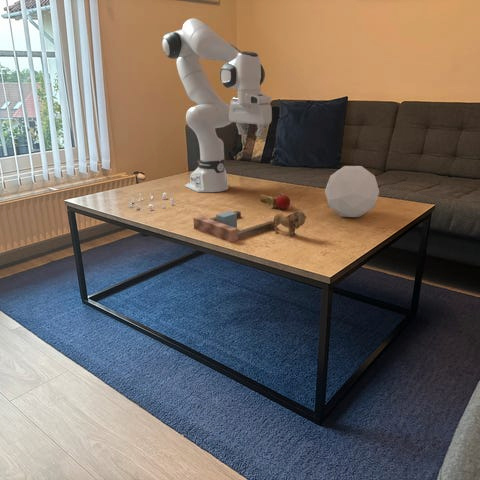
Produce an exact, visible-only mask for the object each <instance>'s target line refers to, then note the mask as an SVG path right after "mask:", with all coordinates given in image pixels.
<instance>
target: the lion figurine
mask: <svg viewBox="0 0 480 480" xmlns="http://www.w3.org/2000/svg"><path fill="white" fill-rule="evenodd" d="M305 214H306V213H304V211H303V210H297V211H295V212H293V213H290V214H288V215H285V214H283V213H280V212H277V213H276V214H275V215H274V217H273V220H272V221H273V224H272V225H271V226H270V227H269V228H268V229H269V230H271V229H270V228H272V226H273V225H274V222H275V228H274V233H275V234H277V235H278V234H279V233H280V232H279V231H278V230H279V228H278V226H279V225H281V226H283V227H284V228H287V229H288V236H289V238H292V239H293V238H294V236H297V233H296V232H295V231H296V230H298V229H300V227H302V226H303V225H305V222H306V220H307V215H305ZM272 229H273V228H272Z"/></svg>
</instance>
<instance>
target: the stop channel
mask: <svg viewBox="0 0 480 480" xmlns="http://www.w3.org/2000/svg"><path fill="white" fill-rule="evenodd" d="M233 212H234V213H237V219H238V218H241V216H242V211H240V210H235V211H233ZM272 224H273V220H269V221H266V222H263V223H260V224H257V225H254V226H249V227H247V228H244V229H241V230H239V231H238V227H237V228H235V227H232V226H229V225H226V224H223V223H220V222H217V221H216V216H214V217H210V218H207V217H206V216H201V215H198V216H194V217H193V229H194V230H197V231H200V232H203V233H206V234H208V235H211V236H214V237H216V238H219V239H222V240H225V241H227V242H229V243H232V242H236V241H239V240H242V239H244V238H247V237H250V236H253V235H254V236H255V235H256V234H260V233H262V232H263V233H264V232H266V231H268V230H271V229H275V222H274V225H273V226H272V228H270V229H268V228H269V227H270V226H271V225H272Z"/></svg>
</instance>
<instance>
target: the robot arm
mask: <svg viewBox="0 0 480 480" xmlns="http://www.w3.org/2000/svg"><path fill="white" fill-rule="evenodd" d="M161 45H162V46H161V47H162V50H163V53H164V54H165V56H166V57H167V58H168V59H171V60H173V59H175V60H176V69H177V72H178V75H179V78H180V81H181V83H182V85H183V88H184V89H185V92H186V94H187V95H186V96H187V97H188V98H189V100H190V101H192V102H195V103H196V104H197V105H193V106H192V107H190V108H188V110H187V111H186V114H185V121H186V124H187V126H188V127H189V129H191V130H192V131H193V132H194V134H195V135H196V137H197V140H198V146H199V157H200V159H197V162H196V163H198V166H197V168H196V169H195V170H194V171H193V172H191V173H190V175H189V182H188V183H186V184H184V185H185V187H186V188H188V189H190V190H192V191H194V192H197V193H218V192H219V193H220V192H224V191H227V190H229V187H230V183H229V182H228V176H227V170H226V168H225V167H226V159H225V147H224V146H225V145H224V141H223V140H222V138H220V137H218V135H217V134H218V133H217V132H216V129H218V128H224V127H226V126H229V125H230V124H232V123H235V124H236V127H237V130H238V135H241V136H242V135H245V129H244V128H243V124H248V125H249V124H250V125H256V128H257V130H256V131H255V133H254V134H255V137H262V132H263V130H264V127H265V126H268V125H271V123H272V122H273V121H272V119H273V110H272V106H271V103H272V97H271V96H269V95H266V94H265V93H263V92H262V88H261V85H262V84H263V83H264V81H265V78H266V71H265V68H264V67H263V65H262V64H261V61H260V60H261V59H260V55H259V54H258V53H257V52H254V51H245V50H244V51H243V50H242V51H241V50H240V49H239V48H237V46H234V45H233V44H232V43H230V42H229V41H227V40H225V39H224V38H222V37H221V36H220V35H218V34H217V33H216V32H215V31H213V29H212V28H210V27H209V26H208V25H207V24H206V23H204V22H203V21H201V20H199V19H198V18H193V17H191V18H188V19H187V20H185V22H184V23H183V25H182V27H181V29H177V30H176V31H170V32H168V33H166V34H164V35H163V37H162V40H161ZM200 58H201V59H204V60H210V61H220V62H225V63H224V64H223V65H222V67H221V69H220V72H219V74H220V75H219V77H220V81H221V84H222V85H223V86H224V87H225V88H227V89H236V90H237V91H236V92H237V97H232V98H231V100H230V104H228V103H226V102H225V101H224V100H223V99H222V98H220V96H219V95H218V94H217V93H216V91H215V90H214V89H213V88H212V86H211V84H210V82H209V80H208V78H207V76H206V73H205V71H204V69H203V67H202V65H201V62H200Z"/></svg>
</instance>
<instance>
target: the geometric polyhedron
mask: <svg viewBox="0 0 480 480" xmlns="http://www.w3.org/2000/svg"><path fill="white" fill-rule="evenodd" d="M324 193H325V198H326V201H327V204H328V208H329V209H331V210H333V211H334V212H335V213H337V214H338V215H339V216H341V217H342V218H361V216H363V215H364V214H367V213H368V212H369V211H371V210H372V209H374V207H375V205H376V203H377V200H378V197H379V194H380V189H379V186H378V182H377V179H376V176H375V175H374V174H373V173H372V172H370V171H369V170H368V169H366V168H365V167H364V166H363V165H344V166H342V167H341V168H340V169H338V170H337V171H335V172H333V173H332V174H330V176H329V179H328V181H327V184H326V187H325V190H324Z"/></svg>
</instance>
